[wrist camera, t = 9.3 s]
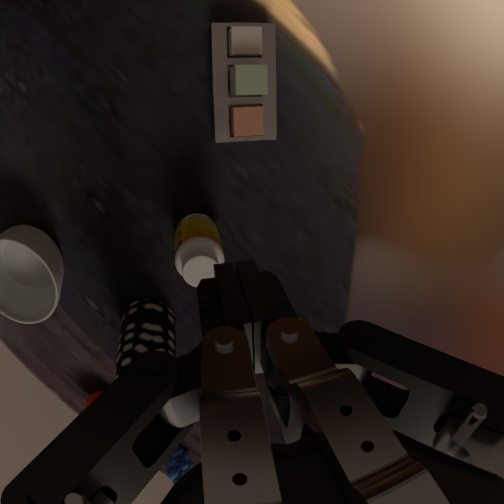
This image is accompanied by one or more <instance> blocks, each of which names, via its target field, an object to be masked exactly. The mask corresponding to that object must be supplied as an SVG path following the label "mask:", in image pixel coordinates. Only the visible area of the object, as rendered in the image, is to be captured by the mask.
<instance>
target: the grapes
mask: <svg viewBox="0 0 504 504" xmlns="http://www.w3.org/2000/svg"><path fill="white" fill-rule="evenodd" d="M189 455H190V454H189V453H188V452H186V451H183V449H182V448H181V447H180V446H178V447H177V448H176V449H175V450H174V452H173V453H172V454H171V455H170V457H169V458H168V459H167V460H166V462H165V463H164V464H165V466H166V467H165V471H166V475H167V476H168V477H169V478H171V479H173V483H174V484H175V483H176V482H177V481H178V480H179V478H180V477H181V476H182V475H183V474H185V473H186V472H187V471H188V470H190V469H191V468H193V467H194V463H193V462H191V461H189V460H188V458H189Z"/></svg>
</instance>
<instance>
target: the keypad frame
mask: <svg viewBox="0 0 504 504" xmlns="http://www.w3.org/2000/svg"><path fill="white" fill-rule="evenodd" d="M231 26H252V27H262V54H261V55H258V56H256V57H236V58H227V31H228V30H229V29H230V28H231ZM209 37H210V74H211V101H212V125H213V140H214V141H215V143H220V142H234V141H251V140H275V139H276V45H275V24H272V23H211V25H210V28H209ZM234 65H267V78H268V95H230V67H232V66H234ZM242 105H257V106H262V107H263V129H264V135H256V136H236V137H234V136H233V135H232V134H231V133H230V132H229V106H242Z"/></svg>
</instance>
